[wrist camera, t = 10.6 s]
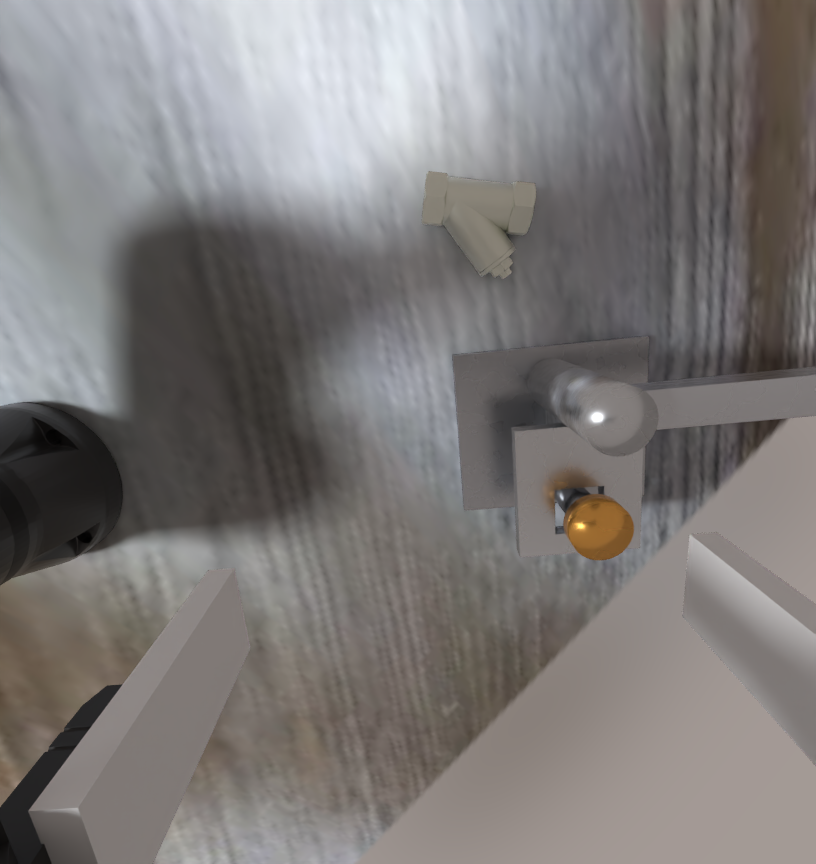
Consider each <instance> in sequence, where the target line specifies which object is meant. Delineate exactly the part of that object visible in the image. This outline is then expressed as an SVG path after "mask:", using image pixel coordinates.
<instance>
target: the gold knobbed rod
mask: <svg viewBox="0 0 816 864" xmlns="http://www.w3.org/2000/svg"><path fill="white" fill-rule="evenodd" d="M554 495H555V500H556V502H557V503H558V504H559V506H560V507H561V508H562V510H563V511H564V512H565V517H564V522H563V526H564V532H565V534H566V536H567V538H568V539H569V541H570V542H571V544H572V545H573V547H574V548H575V549H576V551H577V552H578V553H580V554H581V555H582V556H584V557H586V558H589V559H592V560H606V559H610V558H613V557H615V556H617V555H619V554H620V553H622V552H623V551H624V550H625V549H626V548H627V547H628V545H629V544H630V542H631V540H632V538H633V534H634V524H633V520H632V518H631V516H630V514H629V513H628V512H627V511H626V510H625V509H624V508H623V507H622V506H621V505H620V504H619V503H618V502H617V501H615V500H614V499H613V498H611V497H609V496H606V495H602V494H590V493H589V492H588V491H587V490H586V489H585V488H584V487H583V488H571V489H559V490H554Z"/></svg>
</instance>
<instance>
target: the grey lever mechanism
mask: <svg viewBox="0 0 816 864" xmlns="http://www.w3.org/2000/svg"><path fill="white" fill-rule="evenodd" d="M452 358H453V372H454V385H455V398H456V411H457V425H458V438H459V451H460V464H461V478H462V491H463V504H464V510H477V509H489V508H501V507H513V506H515V519H516V541H517V551H518V554H519V556H520V557H532V556H545V555H558V554H571V553H578V552H577V551H576V549H575V548H574V547H573V545H572V544H571V542H570V541H569V539H568V538H567V536H566V534H565V532H564V526H559V527H555V503H557V502H556V500H555V495H554V490H559V489H571V488H583V487H584V488H585V489H586V490H587V491H588V492H589V493H590V494H602V495H606V496H609V497H611V498H613V499H614V500H615V501H617V502H618V503H619V504H620V505H621V506H622V507H623V508H624V509H625V510H626V511H627V512H628V513H629V514H630V516H631V518H632V520H633V524H634V534H633V538H632V540H631V542H630V544H629V545H628V547H627V548H626V549H635V548H640V532H641V500H642V496H644V482H645V451H646V444H647V443H648V442H649V441H650V440H651V439H652V437H653V436H654V434H655V432H656V430H661V429H672V428H683V427H694V426H706V425H717V424H728V423H739V422H750V421H762V420H773V419H784V418H795V417H806V416H816V367H806V368H795V369H785V370H774V371H763V372H753V373H742V374H732V375H721V376H710V377H700V378H689V379H678V380H668V381H657V382H648V358H649V336H637V337H627V338H617V339H607V340H597V341H587V342H577V343H566V344H556V345H546V346H536V347H526V348H516V349H506V350H496V351H485V352H475V353H465V354H455V355H452Z"/></svg>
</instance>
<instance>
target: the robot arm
mask: <svg viewBox="0 0 816 864" xmlns="http://www.w3.org/2000/svg"><path fill="white" fill-rule="evenodd" d="M121 504H122V486H121V480H120V476H119V473H118V469H117V467H116V464H115V462H114V460H113V458H112V456H111V455H110V453H109V451H108V450H107V448H106V447H105V445H104V444H103V443H102V442H101V440H100V439H99V438H98V437H97V436H96V435H95V434H94V433H93V432H92V431H91V430H90V429H89V428H88V427H86V426H85V425H84V424H83V423H81V422H80V421H78V420H77V419H75V418H74V417H72V416H70V415H68V414H66V413H64V412H62V411H60V410H57V409H55V408H52V407H49V406H45V405H40V404H34V403H14V404H8V405H4V406H0V585H2V584H3V583H5V582H6V581H8V580H9V579H11V578H14V577H17V576H21V575H24V574H28V573H31V572H35V571H38V570H41V569H45V568H48V567H52V566H55V565H59V564H62V563H65V562H68V561H70V560H72V559H75V558H77V557H79V556H80V555H82V554H84V553H85V552H86V551H88V550H89V549H91V548H92V547H93V546H95V545H96V544H98V543H99V542H100V541H101V540H103V539H104V538H105V537H106V536H107V535H108V534H109V532H110V531H111V530H112V528H113V527H114V525H115V523H116V521H117V519H118V516H119V513H120V510H121ZM682 616H683V618H684V619H685V620H686V621H687V622H688V623H689V625H690V626H691V627H692V628H693V629H694V630H695V631H696V633H697V634H698V635H699V636H700V637H701V638H702V639H703V640H704V642H705V643H706V644H707V645H708V646H709V647H710V648H711V649H712V650H713V652H715V654H716V655H717V656H718V657H719V658H720V659H721V661H722V662H723V663H724V664H725V665H726V666H727V667H728V668H729V670H730V671H731V672H732V673H733V674H734V675H735V676H736V677H737V678H738V680H739V681H740V682H741V683H742V684H743V685H744V686H745V687H746V689H747V690H748V691H749V692H750V693H751V694H752V695H753V696H754V697H755V699H756V700H757V701H758V702H759V703H760V704H761V705H762V706H763V708H764V709H765V710H766V711H767V712H768V713H769V714H770V715H771V716H772V718H773V719H774V720H775V721H776V722H777V723H778V724H779V725H780V726H781V728H782V729H783V730H784V731H785V732H786V733H787V734H788V735H789V737H790V738H791V739H792V740H793V741H794V742H795V743H796V745H797V746H798V747H799V748H800V749H801V750H802V751H803V752H804V753H805V755H806V756H807V757H808V758H809V759H810V760H811V761H812V762H813V764H814V765H815V766H816V604H815V603H814V602H813V601H811V600H810V599H808V598H807V597H806V596H804V595H803V594H801V593H800V592H799V591H797V590H796V589H794V588H793V587H792V586H790V585H789V584H788V583H786V582H785V581H784V580H782V579H781V578H779V577H778V576H776V575H775V574H774V573H772V572H771V571H770V570H768V569H767V568H766V567H764V566H762V565H761V564H760V563H759V562H757V561H756V560H755V559H753V558H752V557H750V556H749V555H748V554H746V553H745V552H743V551H742V550H741V549H739V548H738V547H737V546H735V545H734V544H732V543H731V542H730V541H728V540H727V539H725V538H724V537H723V536H721V535H720V534H718V533H717V532H711V533H697V534H690V537H689V547H688V559H687V571H686V581H685V593H684V605H683V615H682ZM249 650H250V643H249V638H248V633H247V628H246V623H245V618H244V613H243V608H242V603H241V598H240V593H239V588H238V583H237V578H236V573H235V568H229V569H216V570H208V571H207V572H206V574H205V575H204V576H203V578H202V579H201V580H200V582H199V583H198V584H197V586H196V587H195V589H194V590H193V591H192V593H191V594H190V595H189V597H188V598H187V599H186V601H185V602H184V603H183V605H182V606H181V607H180V609H179V610H178V611H177V613H176V614H175V615H174V617H173V618H172V619H171V621H170V622H169V623H168V625H167V626H166V627H165V629H164V630H163V631H162V633H161V634H160V635H159V637H158V638H157V639H156V641H155V642H154V643H153V645H152V646H151V647H150V649H149V650H148V651H147V653H146V654H145V655H144V657H143V658H142V659H141V661H140V662H139V663H138V665H137V666H136V668H135V669H134V670H133V672H132V673H131V674H130V676H129V677H128V678H127V680H126V681H125V682H124V684H123V685H110V686H106V687H105V688H104V689H102V690H101V691H100V692H99V693H97V694H96V695H95V696H94V697H92V698H91V699H90V700H89V701H87V702H86V703H85V704H84V705H83V706H82V707H81V708H80V709H79V710H78V712H77V713H76V714H75V715H74V717H73V718H72V719H71V720H70V722H69V723H68V724H67V725H66V727H65V728H64V732H62V733H60V734H59V735H58V736H57V738H56V739H55V740H54V741H53V743H52V744H51V745H50V746H49V750H48V752H45V753H44V754H43V755H42V756H41V757H40V759H39V760H38V761H37V762H36V764H35V765H34V766H33V767H32V769H31V770H30V771H29V772H28V774H27V775H26V776H25V777H24V779H23V780H22V781H21V782H20V783H19V785H18V786H17V787H16V788H15V790H14V791H13V792H12V793H11V795H10V796H9V797H8V798H7V800H6V801H5V802H4V803H3V804H2V806H1V807H0V864H153V862H154V860H155V858H156V855H157V853H158V851H159V849H160V847H161V844H162V842H163V840H164V838H165V836H166V833H167V831H168V829H169V827H170V825H171V822H172V820H173V818H174V816H175V813H176V811H177V809H178V807H179V805H180V802H181V800H182V798H183V796H184V794H185V791H186V789H187V787H188V785H189V783H190V780H191V778H192V776H193V774H194V772H195V769H196V767H197V765H198V763H199V760H200V758H201V756H202V754H203V752H204V749H205V747H206V745H207V743H208V741H209V738H210V736H211V734H212V732H213V730H214V727H215V725H216V723H217V721H218V719H219V716H220V714H221V712H222V710H223V708H224V705H225V703H226V701H227V699H228V696H229V694H230V692H231V690H232V688H233V685H234V683H235V681H236V679H237V677H238V674H239V672H240V670H241V668H242V666H243V663H244V661H245V659H246V657H247V655H248V652H249Z"/></svg>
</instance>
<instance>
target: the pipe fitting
mask: <svg viewBox="0 0 816 864" xmlns="http://www.w3.org/2000/svg"><path fill="white" fill-rule="evenodd" d="M535 201H536V186H535V183H528V182H519V181H516V182H514V183H512V184H511V183H502V182H493V181H484V180H475V179H466V178H458V177H449V176H448V174H447V173H439V172H430V171H429V172H427V174H426V182H425V191H424V201H423V211H422V222H421V223H422V224H423V225H431V226H442V225H444V226H445V227H446V229H447V230H448V232H449V233H450V234H451V236H452V237H453V239H454V240H455V241H456V243H457V244H458V246H459V247H460V248H461V250H462V251H463V252H464V254H465V255H466V257H467V258H468V259H469V261H470V262H471V264H472V265H473V266H474V268H475V269H476V271H477V272H478V273H479V275H480V276H484V275H486V274H487V273H489V272H490V273H491V274H492V276H493V277H494V278H495V277H497V276H499V275H500V277H501V278H502V279H504V278H506V277H507V276H508V275H510V274H511V273H512V271H511V270H510V268H509V267H510V266H511V265H512V264H513V262H512V260H511V259H510V257H509V256H510V255H511V254H512V253H513V252H514V251H515V250H516V248H515V246H514V245H513V244H512V242H511V241H510V239H509V238H508V236H507V235H506V234H511V235H520V236H521V235H526V234H527V232H528V230H529V227H530V224H531V221H532V217H533V213H534V208H535Z"/></svg>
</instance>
